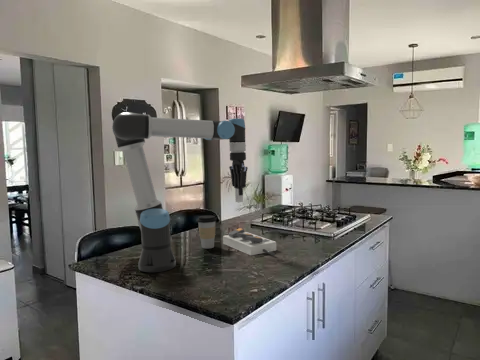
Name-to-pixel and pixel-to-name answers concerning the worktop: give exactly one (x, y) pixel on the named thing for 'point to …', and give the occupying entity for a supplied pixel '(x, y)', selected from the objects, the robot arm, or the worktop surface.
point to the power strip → (250, 245)
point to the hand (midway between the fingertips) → (239, 201)
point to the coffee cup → (207, 230)
